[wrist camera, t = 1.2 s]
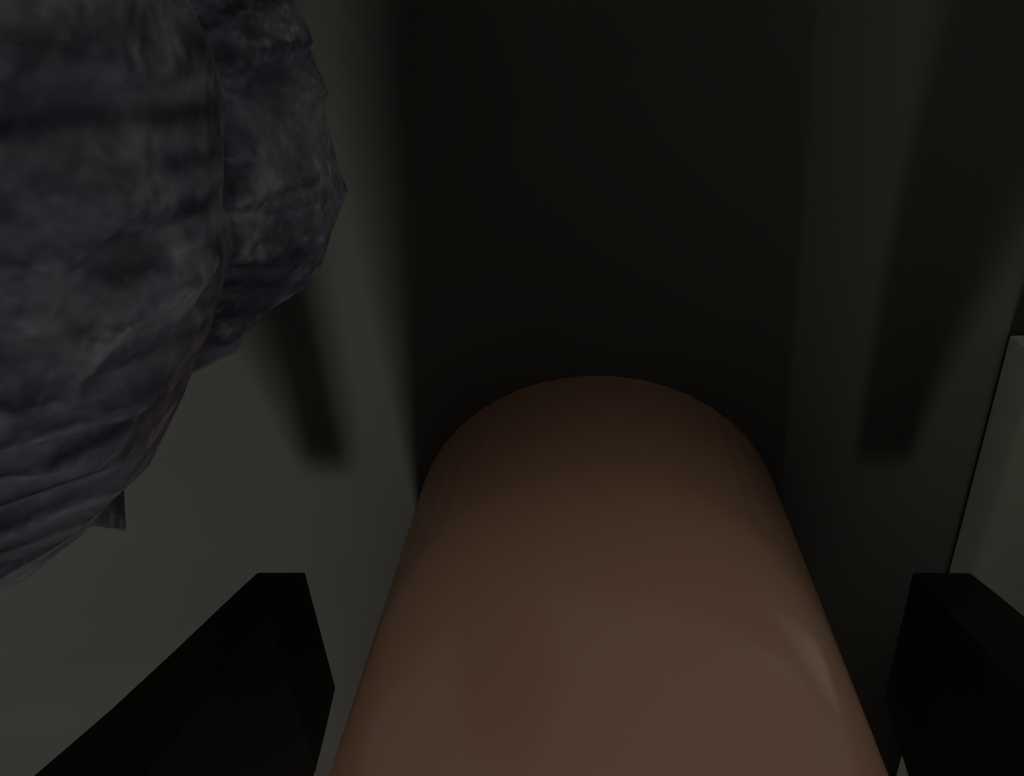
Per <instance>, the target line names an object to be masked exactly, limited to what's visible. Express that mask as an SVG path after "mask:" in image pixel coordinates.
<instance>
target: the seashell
mask: <svg viewBox="0 0 1024 776" xmlns="http://www.w3.org/2000/svg"><path fill="white" fill-rule="evenodd" d="M312 42H313V41H312V37H311V33H310V30H309V28H308V27H307V25H306V23H305V21H304V20H303V18H302V16H301V14H300V13H299V11H298V9H297V7H296V6H295V4H294V2H293V0H0V590H2V589H5V588H7V587H10V586H12V585H14V584H17V583H19V582H21V581H24V580H26V579H27V578H28V577H30V576H31V575H32V574H33V573H35V572H36V571H37V570H38V569H40V568H41V567H42V566H43V565H45V564H46V563H47V562H48V561H50V560H51V559H52V558H53V557H55V556H56V555H57V554H58V553H60V552H61V551H62V550H63V549H65V548H66V547H67V546H68V545H70V544H71V543H72V542H73V541H75V540H76V539H77V538H78V537H80V536H81V535H82V534H83V533H85V532H86V531H87V530H88V529H90V528H91V527H92V526H98V527H104V528H110V529H117V530H123V531H126V521H125V501H124V489H125V488H126V487H127V486H128V485H129V484H130V483H132V482H133V481H134V480H135V479H136V478H137V477H138V476H139V475H140V474H141V473H142V472H143V471H144V470H145V469H146V468H147V467H148V466H149V464H150V462H151V460H152V458H153V456H154V454H155V452H156V450H157V448H158V446H159V444H160V442H161V440H162V438H163V436H164V434H165V432H166V430H167V428H168V426H169V424H170V421H171V419H172V417H173V415H174V413H175V411H176V409H177V407H178V405H179V403H180V401H181V399H182V397H183V395H184V393H185V390H186V387H187V384H188V382H189V379H190V376H191V373H193V372H195V371H198V370H200V369H202V368H204V367H206V366H208V365H210V364H212V363H214V362H217V361H219V360H221V359H223V358H225V357H227V356H229V355H231V354H233V353H236V352H237V351H238V349H239V347H240V345H241V343H242V341H243V339H244V337H245V335H246V333H247V331H248V330H249V329H250V328H251V327H252V326H253V325H254V324H255V323H256V322H257V321H259V320H260V319H261V318H262V317H263V316H264V315H265V314H266V313H267V312H269V311H270V310H271V309H273V308H274V307H276V306H278V305H279V304H281V303H282V302H284V301H286V300H287V299H289V298H291V297H292V296H293V295H294V294H295V293H298V292H300V291H302V290H305V288H306V287H307V285H308V284H309V282H310V281H311V279H312V278H313V276H314V275H315V273H316V272H317V270H318V269H319V267H320V266H321V264H322V262H323V258H324V255H325V252H326V248H327V245H328V242H329V238H330V235H331V231H332V229H333V226H334V224H335V221H336V219H337V216H338V214H339V211H340V209H341V206H342V204H343V201H344V198H345V195H346V192H347V189H346V186H345V183H344V180H343V177H342V174H341V171H340V168H339V165H338V162H337V159H336V156H335V152H334V148H333V144H332V140H331V136H330V132H329V128H328V124H327V120H326V115H325V105H324V101H325V99H326V97H327V95H328V92H327V90H326V87H325V85H324V82H323V80H322V77H321V75H320V72H319V70H318V67H317V65H316V62H315V60H314V57H313V55H312V53H311V50H310V46H311V44H312Z"/></svg>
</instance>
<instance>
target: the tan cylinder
mask: <svg viewBox="0 0 1024 776" xmlns="http://www.w3.org/2000/svg"><path fill="white" fill-rule="evenodd" d="M330 776H889V775H888V773H887V770H886V767H885V765H884V762H883V760H882V757H881V755H880V752H879V750H878V747H877V745H876V742H875V739H874V737H873V734H872V732H871V729H870V727H869V724H868V722H867V719H866V717H865V714H864V711H863V709H862V706H861V704H860V701H859V699H858V696H857V694H856V691H855V689H854V686H853V684H852V681H851V678H850V676H849V673H848V671H847V668H846V666H845V663H844V661H843V658H842V656H841V653H840V650H839V648H838V645H837V643H836V640H835V638H834V635H833V633H832V630H831V628H830V625H829V622H828V620H827V617H826V615H825V612H824V610H823V607H822V605H821V602H820V600H819V597H818V595H817V592H816V589H815V587H814V584H813V582H812V579H811V577H810V574H809V572H808V569H807V567H806V564H805V561H804V559H803V556H802V554H801V551H800V549H799V546H798V544H797V541H796V539H795V536H794V534H793V531H792V528H791V526H790V523H789V521H788V518H787V516H786V513H785V511H784V508H783V506H782V503H781V500H780V498H779V495H778V493H777V490H776V488H775V485H774V483H773V480H772V478H771V475H770V473H769V471H768V469H767V467H766V465H765V463H764V461H763V459H762V458H761V456H760V455H759V453H758V452H757V450H756V449H755V448H754V446H753V445H752V444H751V442H750V441H749V440H748V438H747V437H746V436H745V435H744V434H743V433H742V432H741V431H740V430H739V429H738V428H737V427H736V426H735V425H734V424H733V423H732V422H730V421H729V420H728V419H726V418H725V417H724V416H722V415H721V414H720V413H718V412H717V411H716V410H714V409H713V408H711V407H709V406H708V405H706V404H704V403H702V402H701V401H699V400H697V399H695V398H694V397H692V396H689V395H687V394H684V393H682V392H680V391H677V390H675V389H672V388H670V387H667V386H663V385H659V384H656V383H652V382H648V381H645V380H639V379H632V378H625V377H619V376H592V375H591V376H579V377H567V378H561V379H556V380H551V381H546V382H542V383H538V384H535V385H532V386H529V387H526V388H523V389H520V390H517V391H514V392H512V393H510V394H508V395H506V396H504V397H502V398H500V399H498V400H496V401H494V402H492V403H491V404H489V405H488V406H486V407H484V408H483V409H481V410H480V411H478V412H477V413H475V414H474V415H473V416H472V417H470V418H469V419H468V420H467V421H466V422H465V423H463V424H462V425H461V426H460V427H459V428H458V429H457V430H456V431H455V432H454V433H453V434H452V436H451V437H450V438H449V439H448V440H447V441H446V443H445V444H444V445H443V446H442V448H441V450H440V451H439V453H438V454H437V456H436V458H435V459H434V461H433V463H432V465H431V467H430V470H429V472H428V474H427V477H426V479H425V482H424V485H423V488H422V491H421V494H420V497H419V500H418V503H417V506H416V510H415V513H414V516H413V519H412V522H411V525H410V528H409V531H408V534H407V537H406V541H405V544H404V547H403V550H402V553H401V556H400V559H399V562H398V565H397V568H396V572H395V575H394V578H393V581H392V584H391V587H390V590H389V593H388V596H387V600H386V603H385V606H384V609H383V612H382V615H381V618H380V621H379V624H378V627H377V631H376V634H375V637H374V640H373V643H372V646H371V649H370V652H369V655H368V658H367V662H366V665H365V668H364V671H363V674H362V677H361V680H360V683H359V686H358V689H357V693H356V696H355V699H354V702H353V705H352V708H351V711H350V714H349V717H348V721H347V724H346V727H345V730H344V733H343V736H342V739H341V742H340V745H339V748H338V752H337V755H336V758H335V761H334V764H333V767H332V770H331V773H330Z"/></svg>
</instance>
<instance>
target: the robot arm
mask: <svg viewBox="0 0 1024 776" xmlns="http://www.w3.org/2000/svg"><path fill="white" fill-rule="evenodd" d="M334 690H335V686H334V682H333V678H332V674H331V671H330V667H329V663H328V659H327V655H326V652H325V648H324V644H323V640H322V637H321V633H320V629H319V625H318V621H317V618H316V614H315V610H314V606H313V603H312V599H311V595H310V591H309V587H308V584H307V580H306V576H305V573H257V574H256V575H255V576H254V577H253V578H252V579H251V580H249V581H248V582H247V583H246V584H245V585H244V586H243V587H242V588H241V589H240V590H239V591H237V592H236V593H235V594H234V595H233V596H232V597H231V598H230V599H229V600H228V601H227V602H226V603H225V604H224V605H223V606H222V607H220V608H219V609H218V610H217V611H216V612H215V613H214V614H213V615H212V616H211V617H210V618H209V619H208V620H207V621H206V622H205V623H204V624H203V625H202V626H201V627H199V628H198V629H197V630H196V631H195V632H194V633H193V634H192V635H191V636H190V637H189V638H188V639H187V640H186V641H185V642H184V643H183V644H182V645H181V646H179V647H178V648H177V649H176V650H175V651H174V652H173V653H172V654H171V655H170V656H169V657H168V658H167V659H166V660H164V661H163V662H162V663H161V664H160V665H159V666H158V667H157V668H156V669H155V670H154V671H153V672H152V673H150V674H149V675H148V676H147V677H146V678H145V679H144V680H143V681H142V682H141V683H140V684H139V685H137V686H136V687H135V688H134V689H133V690H132V691H131V692H130V693H129V694H128V695H127V696H126V697H125V698H123V699H122V700H121V701H120V702H119V703H118V704H117V705H116V706H115V707H114V708H113V709H111V710H110V711H109V712H108V713H107V714H106V715H105V716H103V717H102V718H101V719H100V720H99V721H98V722H96V723H95V724H94V725H93V726H92V727H91V728H89V729H88V730H87V731H86V732H85V733H84V734H83V735H81V736H80V737H79V738H78V739H77V740H76V741H74V742H73V743H72V744H71V745H70V746H69V747H67V748H66V749H65V750H64V751H63V752H62V753H60V754H59V755H58V756H57V757H56V758H55V759H54V760H52V761H51V762H50V763H49V764H48V765H47V766H45V767H44V768H43V769H42V770H41V771H40V772H38V773H37V774H36V775H35V776H313V775H314V773H315V770H316V766H317V762H318V758H319V754H320V750H321V746H322V742H323V738H324V734H325V730H326V725H327V721H328V717H329V712H330V708H331V703H332V699H333V695H334ZM884 698H885V701H886V704H887V708H888V711H889V714H890V718H891V721H892V725H893V728H894V731H895V735H896V738H897V741H898V745H899V748H900V751H901V754H902V757H903V760H904V763H905V767H906V770H907V773H908V776H1024V616H1023V615H1022V614H1021V613H1019V612H1018V611H1017V610H1016V609H1014V608H1013V607H1012V606H1011V605H1010V604H1008V603H1007V602H1006V601H1005V600H1003V599H1002V598H1001V597H1000V596H999V595H997V594H996V593H995V592H994V591H992V590H991V589H990V588H989V587H987V586H986V585H985V584H983V583H982V582H981V581H980V580H978V579H977V578H976V577H974V576H973V575H972V574H971V573H913V577H912V581H911V585H910V590H909V594H908V598H907V603H906V607H905V611H904V616H903V620H902V624H901V628H900V633H899V637H898V641H897V646H896V650H895V654H894V659H893V663H892V667H891V671H890V676H889V680H888V684H887V689H886V693H885V697H884Z"/></svg>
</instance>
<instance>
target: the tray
mask: <svg viewBox="0 0 1024 776" xmlns="http://www.w3.org/2000/svg"><path fill="white" fill-rule="evenodd" d="M949 573H971V574H972V575H973V576H974V577H976V578H977V579H978V580H980V581H981V582H982V583H983V584H985V585H986V586H987V587H989V588H990V589H991V590H992V591H994V592H995V593H996V594H997V595H999V596H1000V597H1001V598H1002V599H1003V600H1005V601H1006V602H1007V603H1008V604H1010V605H1011V606H1012V607H1013V608H1014V609H1016V610H1017V611H1018V612H1019V613H1021V614H1022V615H1023V616H1024V335H1023V336H1010V340H1009V343H1008V347H1007V351H1006V355H1005V359H1004V363H1003V367H1002V370H1001V374H1000V378H999V382H998V386H997V390H996V394H995V397H994V401H993V405H992V409H991V413H990V417H989V421H988V424H987V428H986V432H985V436H984V440H983V444H982V448H981V451H980V455H979V459H978V463H977V467H976V471H975V475H974V478H973V482H972V486H971V490H970V494H969V498H968V502H967V505H966V509H965V513H964V517H963V521H962V525H961V528H960V532H959V536H958V540H957V544H956V548H955V552H954V555H953V559H952V563H951V567H950V571H949ZM896 776H908V773H907V770H906V767H905V763H904V760H903V757H902V756H901V760H900V764H899V767H898V771H897V775H896Z"/></svg>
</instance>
